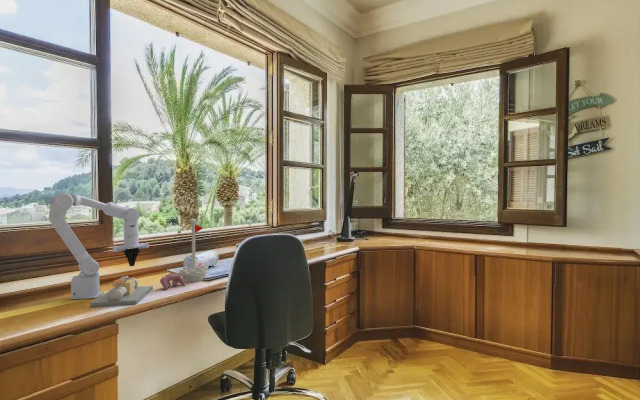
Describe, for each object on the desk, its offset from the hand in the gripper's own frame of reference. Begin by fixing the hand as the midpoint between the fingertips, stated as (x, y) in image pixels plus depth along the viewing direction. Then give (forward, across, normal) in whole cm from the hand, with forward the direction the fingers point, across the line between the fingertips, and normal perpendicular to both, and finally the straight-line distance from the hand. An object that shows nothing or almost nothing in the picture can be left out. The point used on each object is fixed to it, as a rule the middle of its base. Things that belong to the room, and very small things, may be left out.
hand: (131, 265), depth 158 cm
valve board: (+10, -7, -10) cm, 16 cm away
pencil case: (+11, +43, +14) cm, 46 cm away
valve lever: (+3, -10, -13) cm, 17 cm away
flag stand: (+11, +27, -5) cm, 30 cm away
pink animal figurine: (+11, +13, -11) cm, 20 cm away
